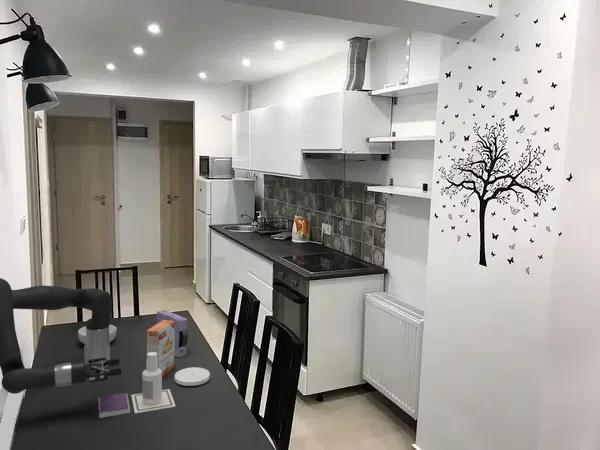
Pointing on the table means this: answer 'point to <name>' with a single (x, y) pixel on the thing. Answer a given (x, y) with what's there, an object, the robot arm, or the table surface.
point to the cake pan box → (176, 331)
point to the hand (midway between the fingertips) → (120, 366)
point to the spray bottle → (152, 381)
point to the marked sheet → (164, 403)
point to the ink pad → (113, 405)
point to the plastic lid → (192, 376)
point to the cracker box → (162, 344)
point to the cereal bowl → (83, 333)
